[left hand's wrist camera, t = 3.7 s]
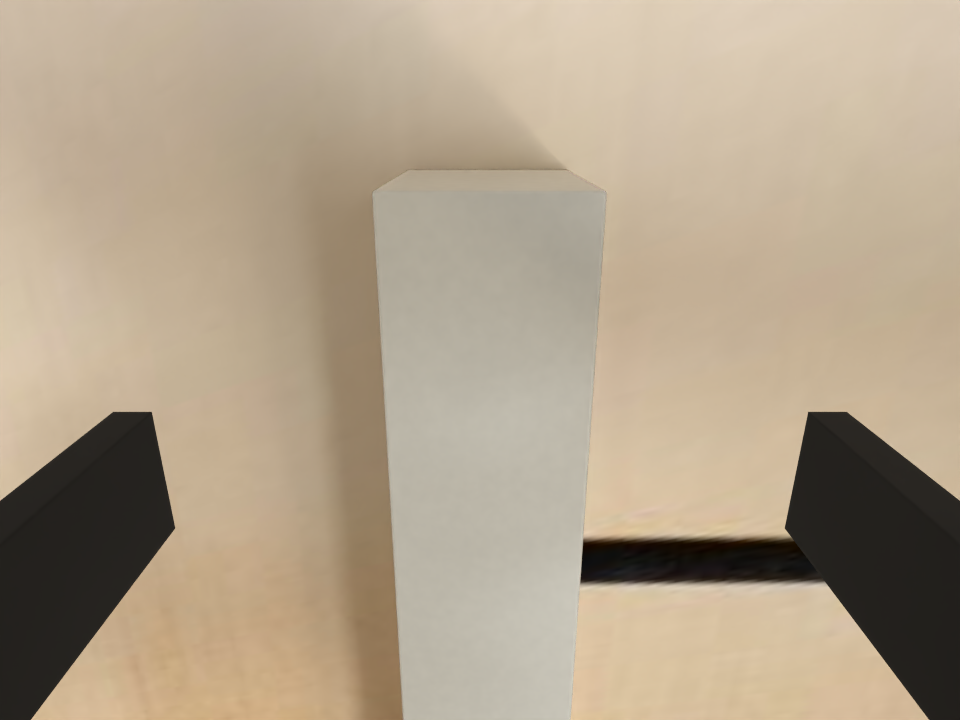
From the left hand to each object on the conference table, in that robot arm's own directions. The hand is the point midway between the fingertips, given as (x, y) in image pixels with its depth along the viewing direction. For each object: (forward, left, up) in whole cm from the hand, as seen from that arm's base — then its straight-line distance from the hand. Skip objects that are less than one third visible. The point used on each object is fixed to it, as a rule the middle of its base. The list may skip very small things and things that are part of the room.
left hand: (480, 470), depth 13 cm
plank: (+17, +13, -12) cm, 25 cm away
